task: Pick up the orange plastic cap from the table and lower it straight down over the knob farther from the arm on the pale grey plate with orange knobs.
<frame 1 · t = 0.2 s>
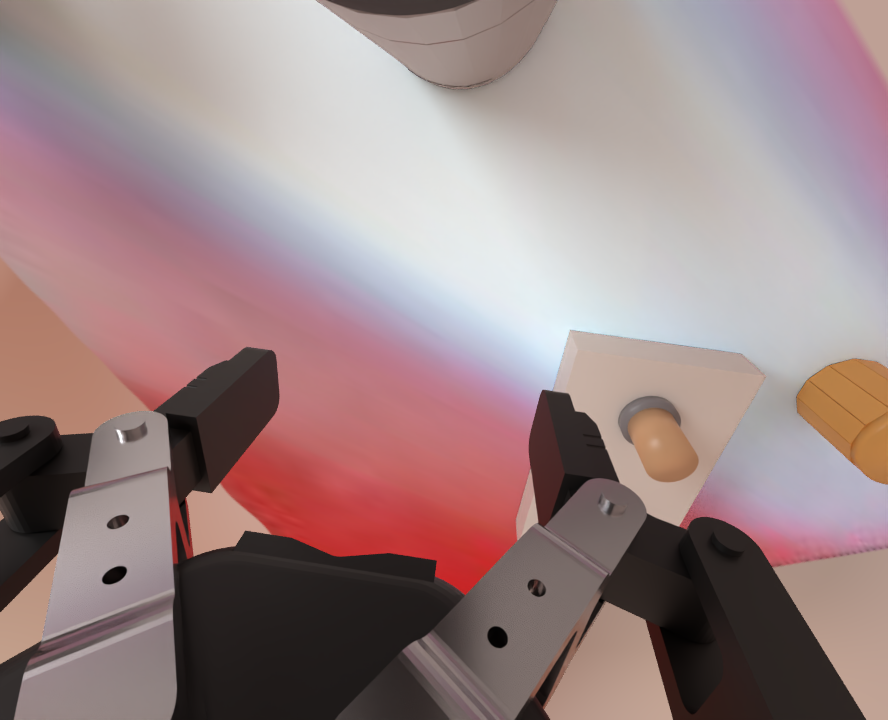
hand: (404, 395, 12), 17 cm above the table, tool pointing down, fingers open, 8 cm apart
plate with orange knobs: (611, 449, 34), on the table
cap: (841, 393, 30), on the table
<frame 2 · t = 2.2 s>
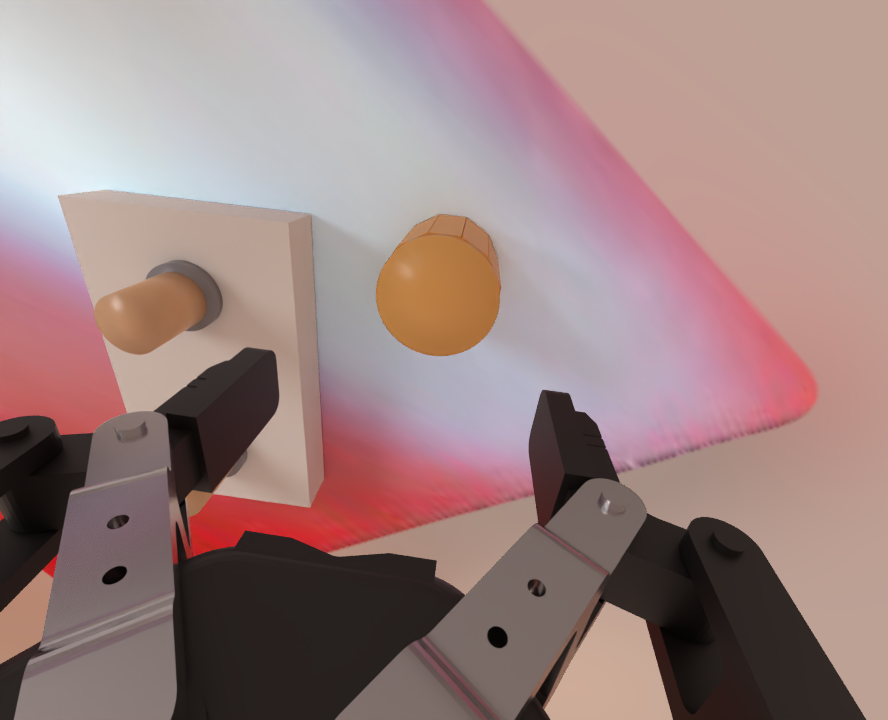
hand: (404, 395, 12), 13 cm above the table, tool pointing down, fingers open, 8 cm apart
plate with orange knobs: (232, 356, 28), on the table
cap: (447, 266, 24), on the table
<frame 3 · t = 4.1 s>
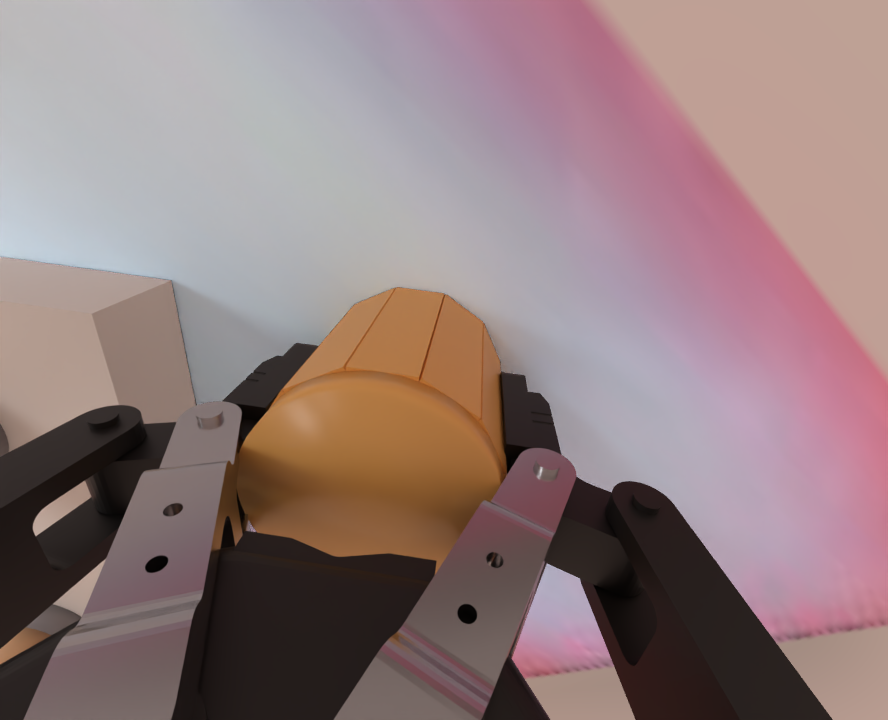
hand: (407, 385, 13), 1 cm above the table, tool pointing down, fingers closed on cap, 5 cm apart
plate with orange knobs: (81, 484, 18), on the table
cap: (413, 370, 14), on the table, touching gripper
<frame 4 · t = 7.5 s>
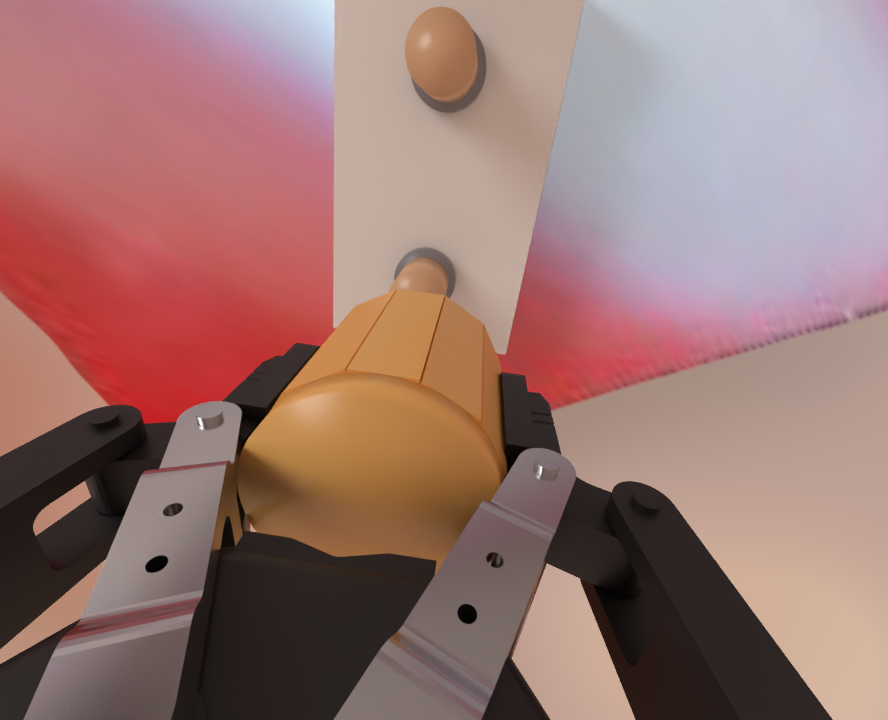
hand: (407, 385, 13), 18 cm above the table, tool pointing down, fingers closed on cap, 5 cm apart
plate with orange knobs: (441, 181, 27), on the table
cap: (414, 371, 14), point 17 cm above the table, touching gripper
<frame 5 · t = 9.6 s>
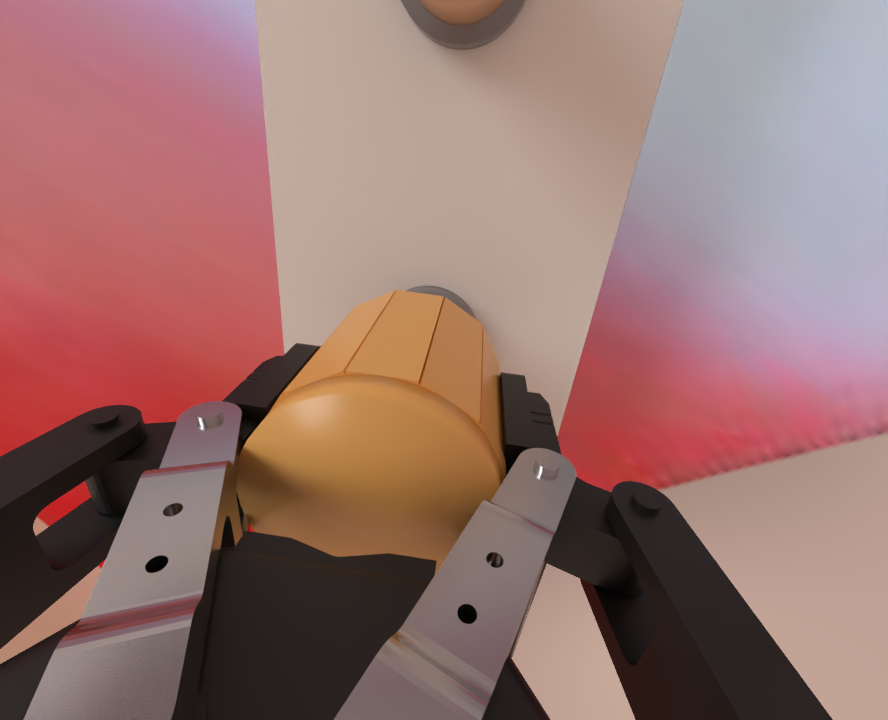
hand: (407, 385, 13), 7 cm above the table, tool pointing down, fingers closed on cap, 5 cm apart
plate with orange knobs: (450, 176, 16), on the table
cap: (413, 372, 14), point 6 cm above the table, touching gripper
when the fingers open (5 cm above the table, at t = 11.2 s): cap drops 1 cm, resting on plate with orange knobs.
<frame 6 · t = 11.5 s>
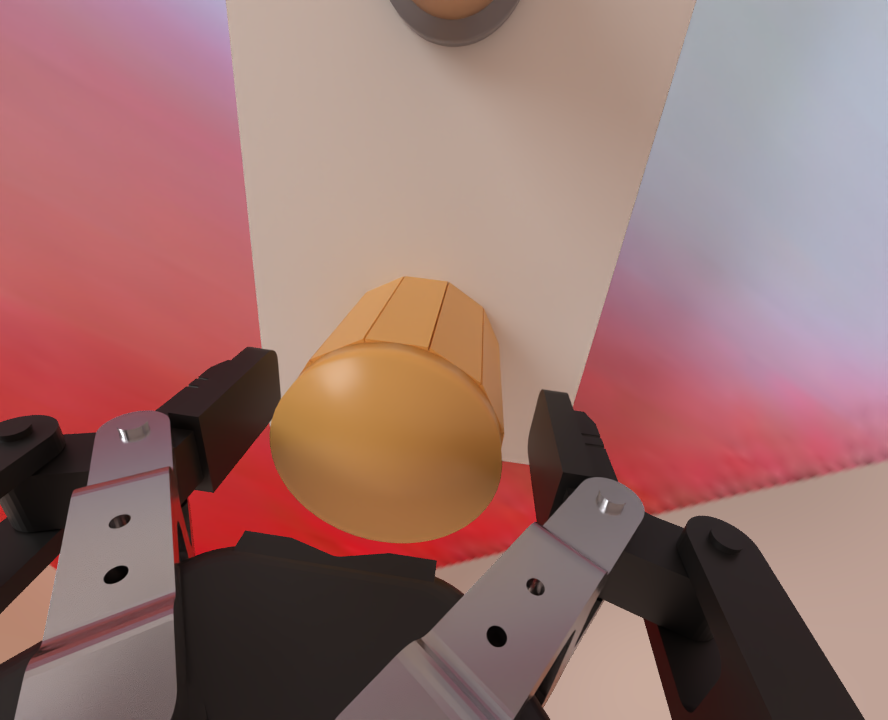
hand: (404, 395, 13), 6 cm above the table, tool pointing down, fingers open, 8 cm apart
plate with orange knobs: (443, 183, 15), on the table
cap: (420, 352, 15), point 3 cm above the table, touching plate with orange knobs
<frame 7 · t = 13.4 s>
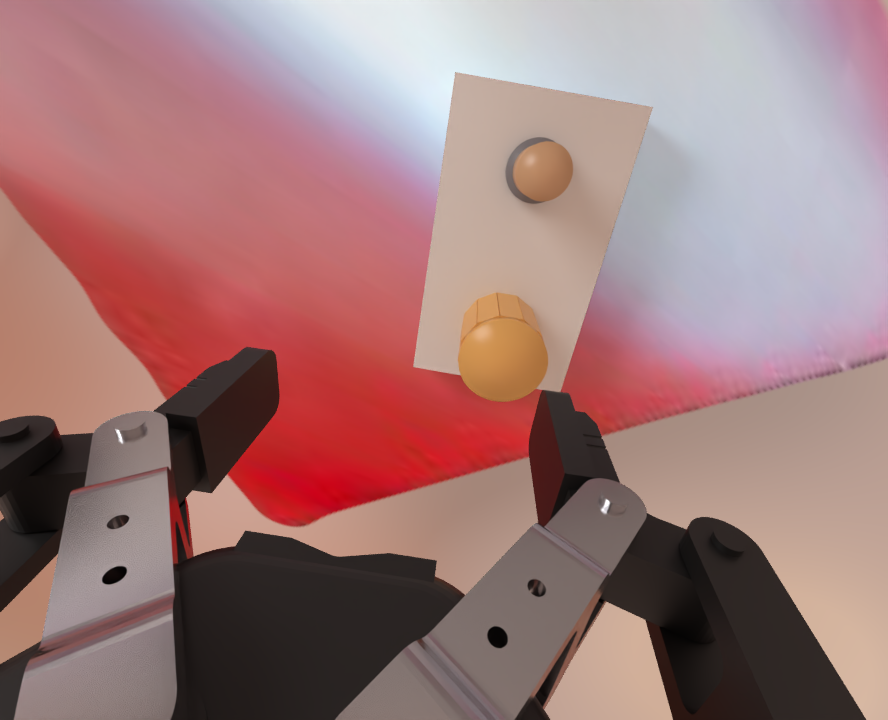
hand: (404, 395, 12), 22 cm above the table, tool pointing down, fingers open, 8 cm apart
plate with orange knobs: (512, 248, 32), on the table
cap: (498, 329, 32), point 3 cm above the table, touching plate with orange knobs
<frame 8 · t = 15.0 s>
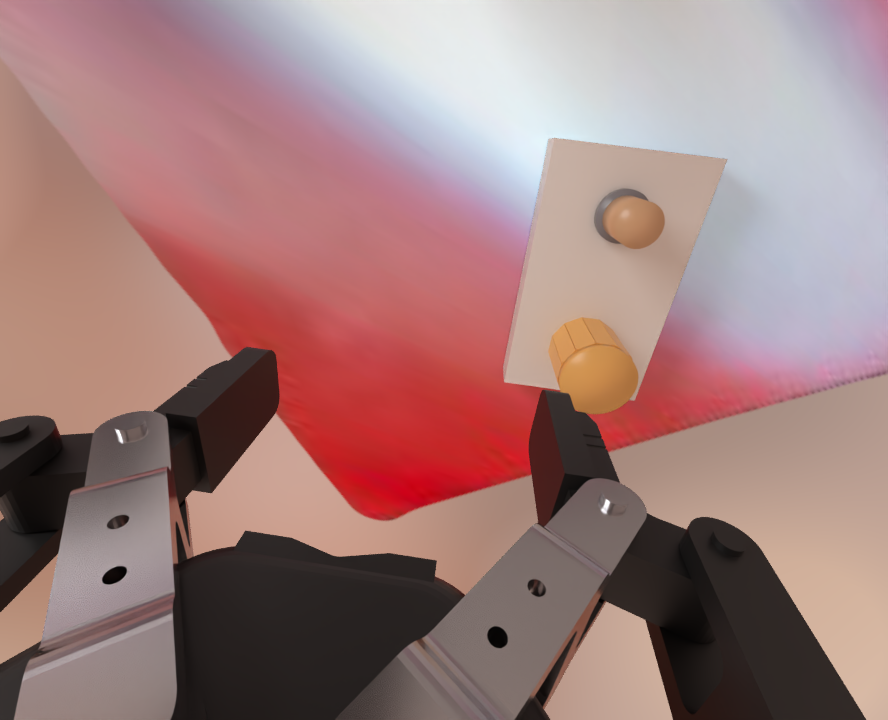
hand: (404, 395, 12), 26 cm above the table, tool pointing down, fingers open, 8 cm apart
plate with orange knobs: (591, 276, 36), on the table
cap: (582, 348, 36), point 3 cm above the table, touching plate with orange knobs
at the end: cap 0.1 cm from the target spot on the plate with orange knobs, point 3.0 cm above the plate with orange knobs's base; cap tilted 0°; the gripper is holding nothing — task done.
